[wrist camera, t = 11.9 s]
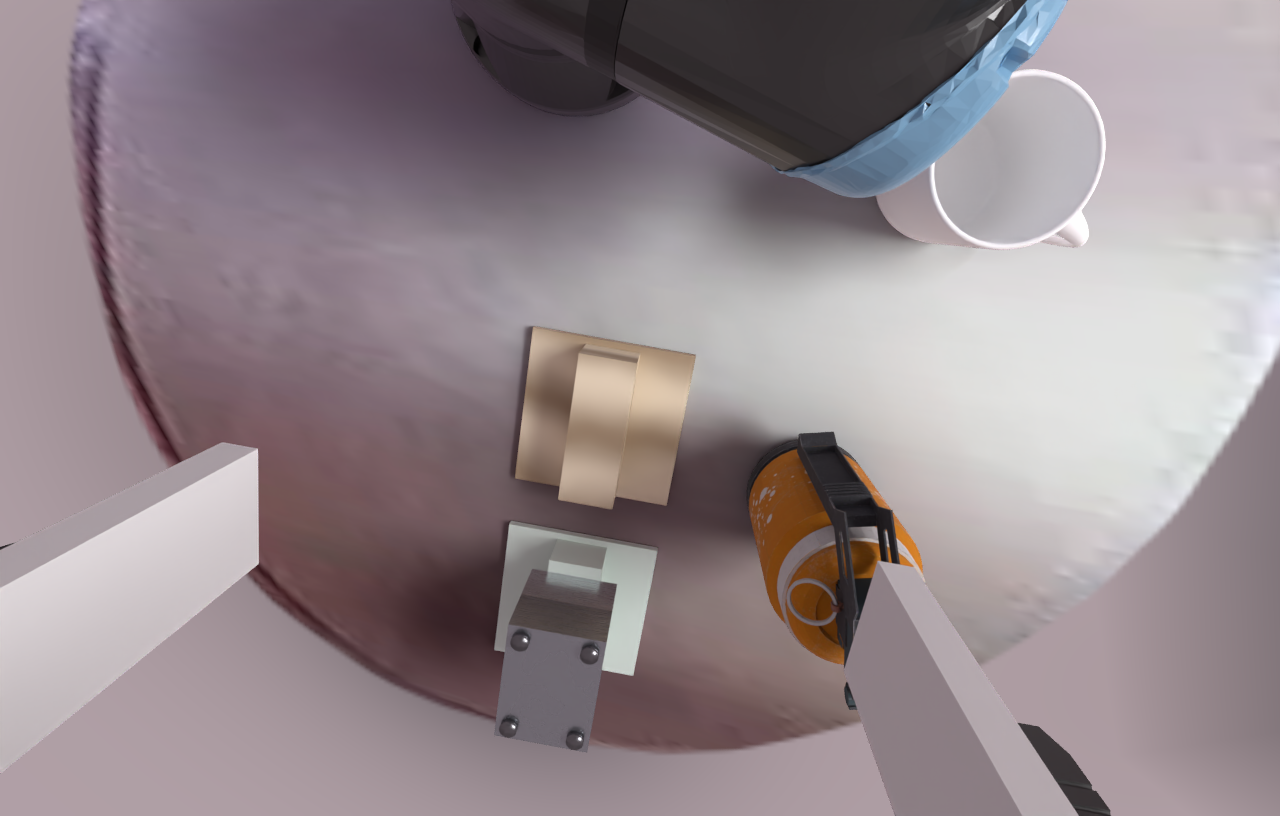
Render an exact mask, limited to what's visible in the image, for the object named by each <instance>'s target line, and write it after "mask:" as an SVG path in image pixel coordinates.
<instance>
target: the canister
mask: <svg viewBox="0 0 1280 816" xmlns="http://www.w3.org/2000/svg"><path fill="white" fill-rule="evenodd" d="M747 504H748V509H749V513H750V518H751V523H752V527H753V531H754V536H755V540H756V545H757V549H758V554H759V558H760V562H761V567H762V571H763V576H764V580H765V585H766V589H767V593H768V596H769V599H770V602H771V604H772V606H773V608H774V610H775V612H776V613H777V614H778V616H779V617H780V618H781V620H782V621H783V622H784V623H785V624H786V625H787V627H788V629H789V631H790V633H791V634H792V635H793V637H794V638H795V639H796V640H797V641H798V642H799V643H800V644H801V645H802V646H803V647H804V648H806V649H807V650H809V651H810V652H812V653H813V654H815V655H816V656H818V657H820V658H822V659H824V660H827V661H830V662H833V663H837V664H843V665H844V668H845V665H846V662H847V659H848V655H849V652H850V649H851V646H852V642H853V639H854V636H855V633H856V629H857V626H858V623H859V620H860V616H861V613H862V610H863V607H864V603H865V600H866V597H867V594H868V590H869V587H870V584H871V581H872V577H873V574H874V571H875V568H876V564H877V561H882V562H888V563H893V564H899V565H905V566H910V567H915V569H916V570H917V572H918V573H919V575H920V576H921V578H922V580H923V581H924V583H925V584H926V582H925V579H924V576H923V569H922V561H921V557H920V553H919V551H918V549H917V547H916V544H915V543H914V541H913V540H912V538H911V537H910V536H909V534H908V533H907V531H906V530H905V529H904V527H903V526H902V524H901V523H900V522H899V520H898V519H897V517H896V516H895V515H894V513H893V511H892V510H891V509H890V508H889V506H888V505H887V503H886V502H885V501H884V499H883V498H882V496H881V495H880V494H879V492H878V491H877V489H876V488H875V487H874V485H873V484H872V483H871V481H870V480H869V478H868V477H867V476H866V474H865V473H864V471H863V470H862V469H861V467H860V466H859V464H858V463H857V462H856V460H855V459H854V458H853V457H852V456H851V455H850V454H849V453H848V452H846V451H845V450H844V449H842V448H840V447H839V446H837V443H836V439H835V435H834V432H821V433H804V434H799V439H798V440H796V441H792V442H789V443H786V444H784V445H781V446H779V447H777V448H776V449H774V450H772V451H771V452H769V453H768V454H767V455H766V456H765V457H764V458H763V459H762V460H761V461H760V462H759V463H758V465H757V466H756V468H755V469H754V471H753V472H752V475H751V477H750V480H749V483H748V488H747ZM844 692H845V699H846V703H847V705H848V707H849V710H857V707H856V704H855V701H854V699H853V696H852V693H851V690H850V687H849V684H848V682H846V685H845V688H844Z"/></svg>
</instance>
